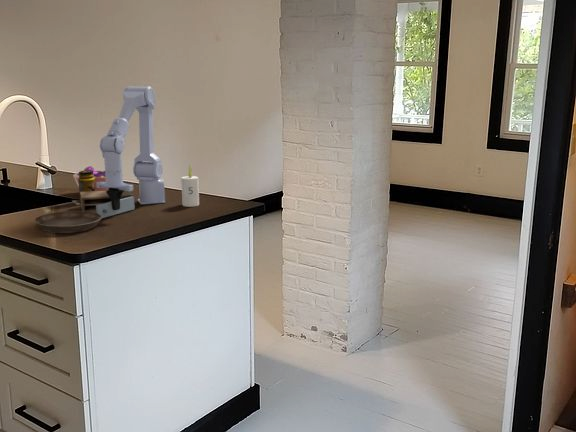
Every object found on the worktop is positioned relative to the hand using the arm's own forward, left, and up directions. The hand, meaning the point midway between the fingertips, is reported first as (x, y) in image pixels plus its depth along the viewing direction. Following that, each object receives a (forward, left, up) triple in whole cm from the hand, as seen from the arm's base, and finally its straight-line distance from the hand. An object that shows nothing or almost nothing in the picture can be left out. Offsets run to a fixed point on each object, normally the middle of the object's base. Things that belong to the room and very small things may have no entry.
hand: (116, 209), depth 212 cm
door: (-1, -1, -2) cm, 2 cm away
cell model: (+3, -41, -3) cm, 41 cm away
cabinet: (+2, -13, -2) cm, 14 cm away
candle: (-28, -9, -3) cm, 30 cm away
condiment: (+9, -27, -3) cm, 29 cm away
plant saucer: (+16, +9, -3) cm, 18 cm away
